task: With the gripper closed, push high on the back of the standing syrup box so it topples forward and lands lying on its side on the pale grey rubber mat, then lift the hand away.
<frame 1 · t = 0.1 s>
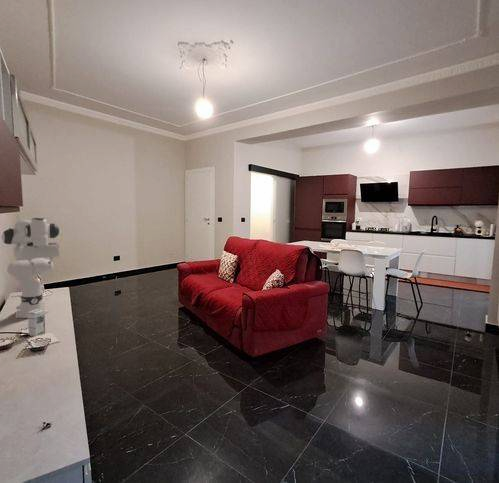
hand: (41, 264, 186), 39 cm above the sideboard top, tool pointing down, fingers open, 8 cm apart
syrup box: (36, 334, 174), on the sideboard top
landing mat: (42, 340, 166), on the sideboard top
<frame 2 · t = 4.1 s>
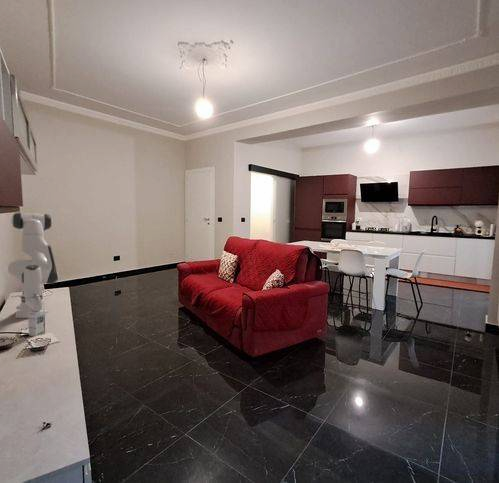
hand: (33, 315, 176), 10 cm above the sideboard top, tool pointing down, fingers closed
syrup box: (36, 334, 174), on the sideboard top, touching gripper
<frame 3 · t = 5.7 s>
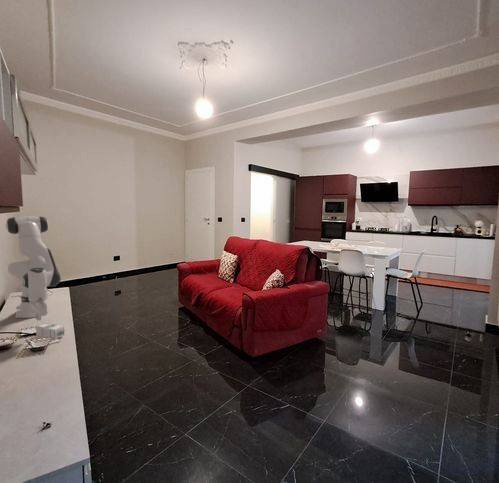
hand: (38, 319, 169), 10 cm above the sideboard top, tool pointing down, fingers closed
syrup box: (40, 329, 173), point 4 cm above the sideboard top, touching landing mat
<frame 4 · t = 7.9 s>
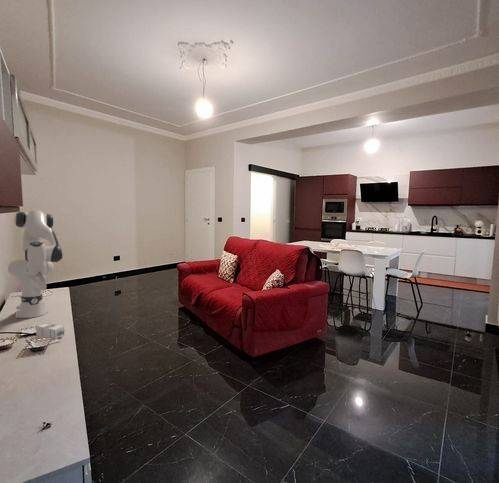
hand: (38, 294, 169), 25 cm above the sideboard top, tool pointing down, fingers closed
nothing on the sideboard top moved.
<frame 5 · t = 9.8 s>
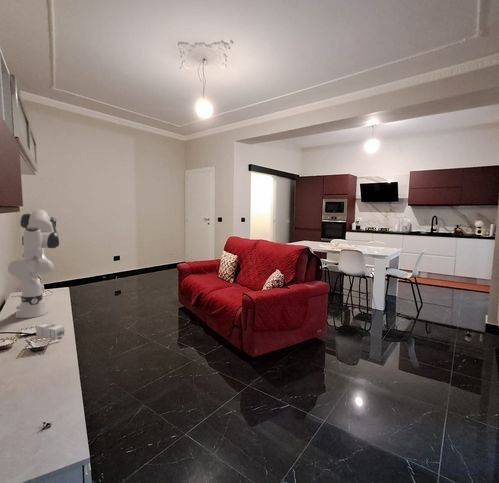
hand: (33, 278, 173), 33 cm above the sideboard top, tool pointing down, fingers closed
nothing on the sideboard top moved.
at the end: syrup box tilted 90°; syrup box inside the target area (3.0 cm from its centre), point 3.6 cm above the sideboard top; syrup box touching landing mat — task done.
